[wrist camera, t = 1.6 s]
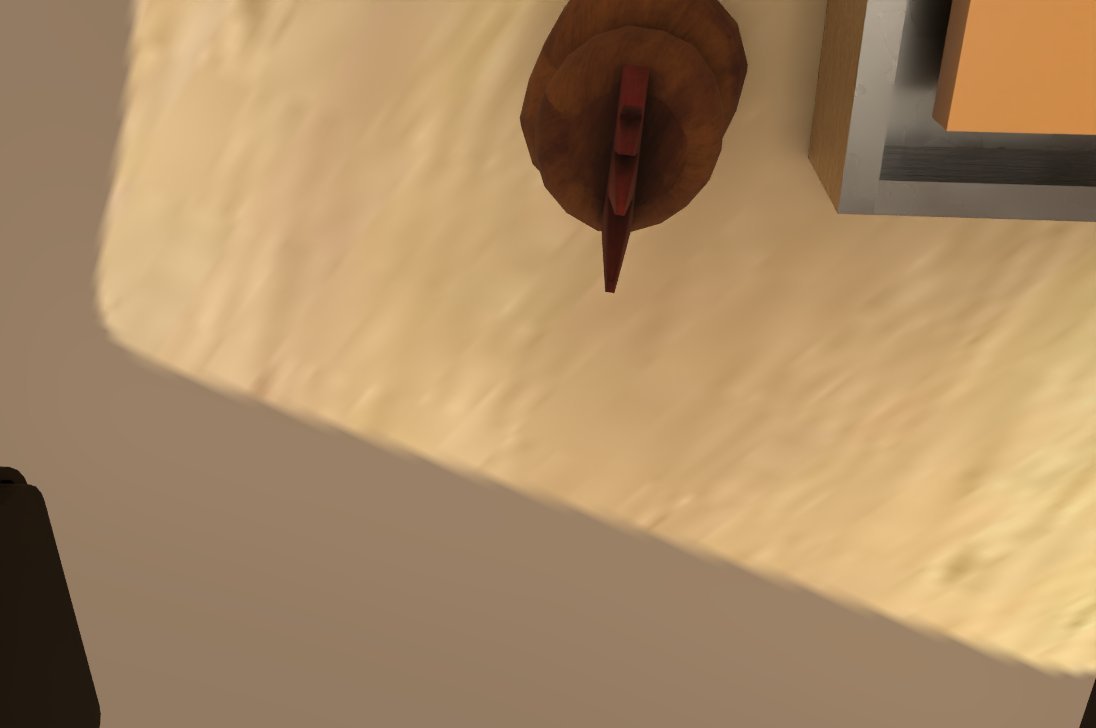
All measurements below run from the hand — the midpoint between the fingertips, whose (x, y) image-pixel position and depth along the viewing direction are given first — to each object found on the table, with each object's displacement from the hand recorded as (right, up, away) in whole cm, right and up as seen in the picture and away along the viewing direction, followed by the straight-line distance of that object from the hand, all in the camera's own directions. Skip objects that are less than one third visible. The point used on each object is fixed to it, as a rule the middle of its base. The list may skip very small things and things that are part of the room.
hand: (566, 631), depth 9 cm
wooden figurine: (+3, +12, +24) cm, 28 cm away
